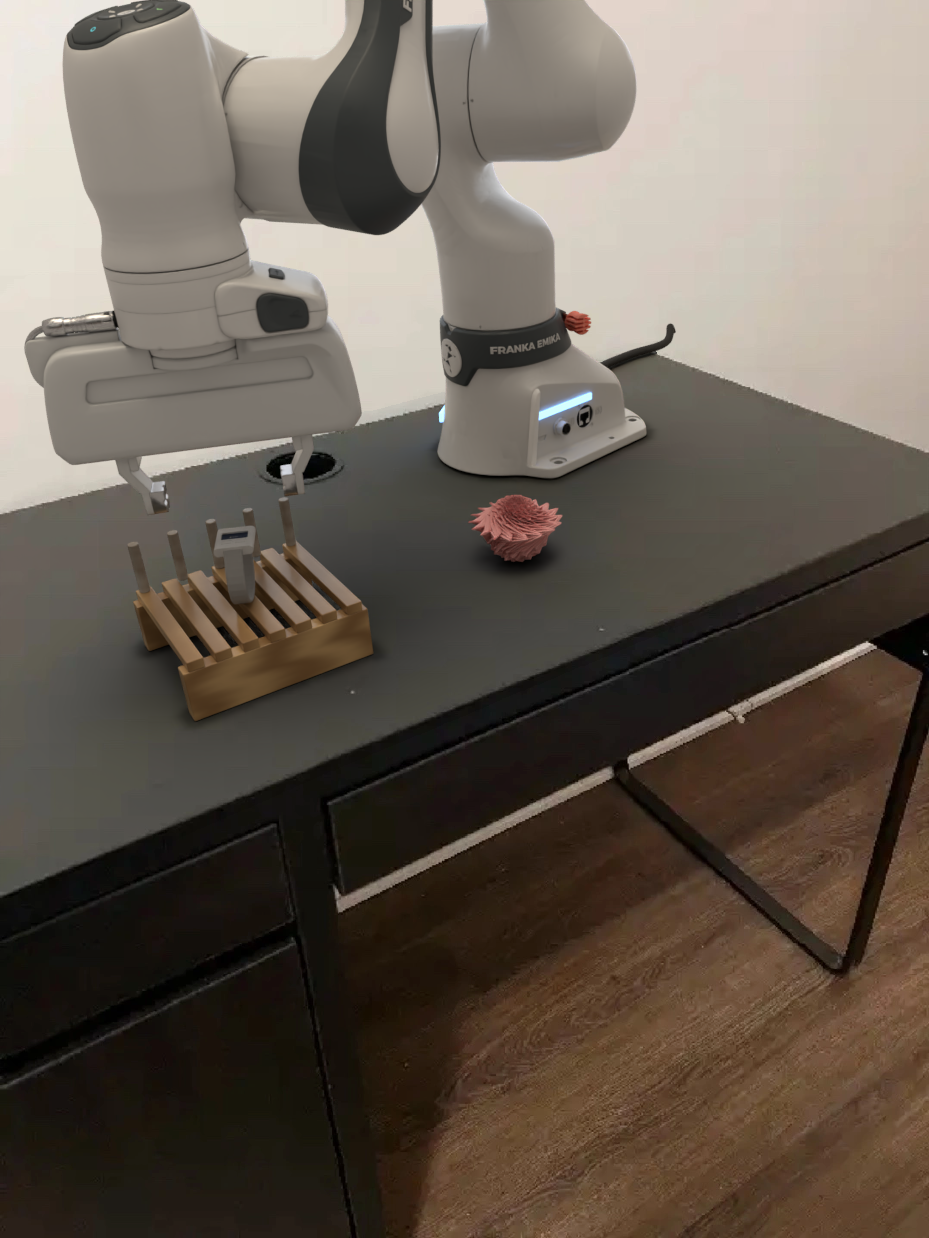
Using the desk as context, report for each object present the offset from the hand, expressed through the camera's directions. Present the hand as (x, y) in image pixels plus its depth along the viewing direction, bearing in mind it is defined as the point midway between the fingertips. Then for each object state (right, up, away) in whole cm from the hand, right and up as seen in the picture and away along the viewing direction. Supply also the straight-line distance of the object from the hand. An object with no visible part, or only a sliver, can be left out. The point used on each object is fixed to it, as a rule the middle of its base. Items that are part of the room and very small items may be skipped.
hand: (227, 501), depth 72 cm
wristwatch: (+1, -7, +4) cm, 8 cm away
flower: (+21, -3, +17) cm, 27 cm away
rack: (+1, -11, +7) cm, 13 cm away
